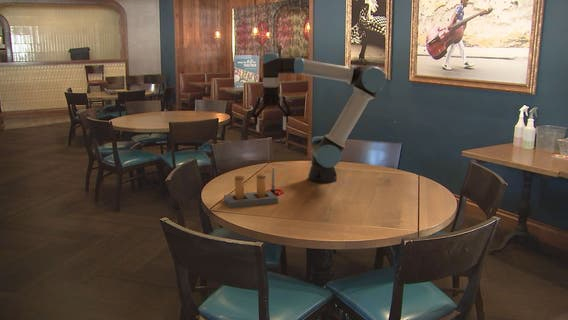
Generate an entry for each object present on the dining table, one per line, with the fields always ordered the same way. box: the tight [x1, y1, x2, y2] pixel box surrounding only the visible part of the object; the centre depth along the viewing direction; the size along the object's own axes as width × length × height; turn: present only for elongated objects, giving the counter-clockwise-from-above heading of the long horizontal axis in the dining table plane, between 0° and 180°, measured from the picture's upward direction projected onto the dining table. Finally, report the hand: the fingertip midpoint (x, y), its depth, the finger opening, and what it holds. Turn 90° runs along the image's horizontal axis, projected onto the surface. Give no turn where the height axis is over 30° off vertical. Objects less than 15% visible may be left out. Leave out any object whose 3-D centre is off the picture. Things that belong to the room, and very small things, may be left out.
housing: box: [223, 190, 279, 209], centre depth 220 cm, size 22×12×2 cm, turn 108°
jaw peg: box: [255, 173, 267, 198], centre depth 221 cm, size 4×4×12 cm
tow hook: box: [266, 167, 285, 196], centre depth 234 cm, size 8×13×9 cm
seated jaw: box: [234, 175, 245, 200], centre depth 218 cm, size 4×4×12 cm
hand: (271, 130), depth 238 cm, fingers open, 13 cm apart
